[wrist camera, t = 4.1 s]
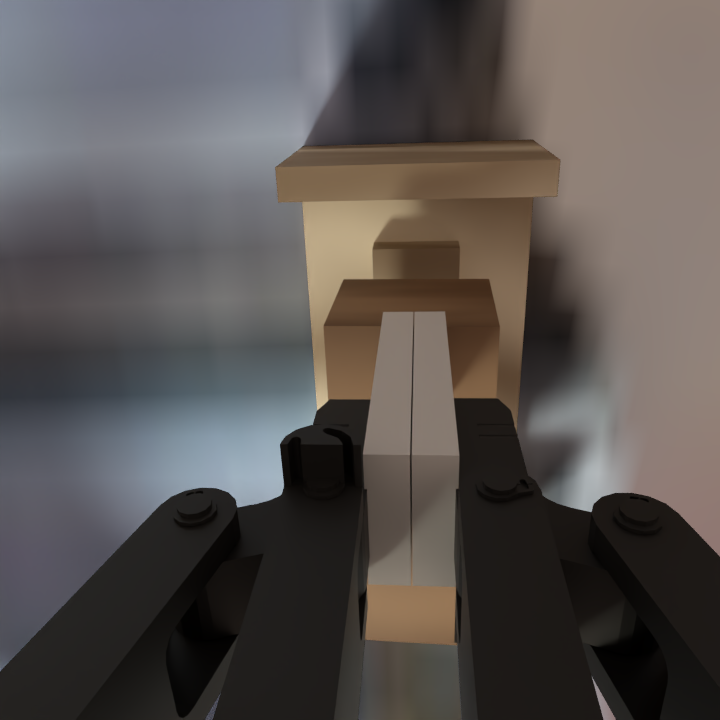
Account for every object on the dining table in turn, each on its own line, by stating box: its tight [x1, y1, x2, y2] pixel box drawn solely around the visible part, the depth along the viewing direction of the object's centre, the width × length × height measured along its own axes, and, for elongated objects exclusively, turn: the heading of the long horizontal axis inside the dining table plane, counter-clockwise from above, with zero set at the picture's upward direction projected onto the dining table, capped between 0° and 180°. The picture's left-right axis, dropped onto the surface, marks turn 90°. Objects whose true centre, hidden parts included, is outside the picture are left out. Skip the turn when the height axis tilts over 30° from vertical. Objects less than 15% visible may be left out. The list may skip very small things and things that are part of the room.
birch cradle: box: [275, 140, 560, 432], centre depth 24 cm, size 16×8×5 cm, turn 2°
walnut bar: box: [323, 279, 500, 645], centre depth 21 cm, size 11×4×4 cm, turn 2°
